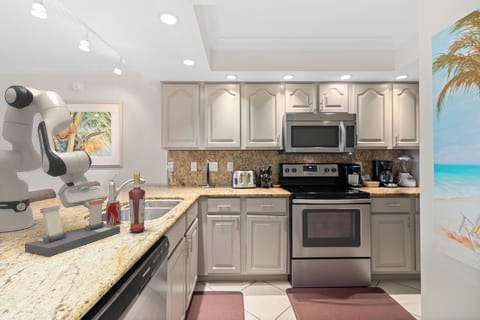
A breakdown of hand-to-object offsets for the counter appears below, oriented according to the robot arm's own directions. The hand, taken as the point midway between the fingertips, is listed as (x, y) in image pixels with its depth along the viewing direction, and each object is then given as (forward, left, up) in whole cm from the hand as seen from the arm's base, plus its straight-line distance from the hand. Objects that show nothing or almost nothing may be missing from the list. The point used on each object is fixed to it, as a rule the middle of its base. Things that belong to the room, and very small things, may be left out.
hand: (94, 209), depth 114 cm
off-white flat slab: (+1, 0, -8) cm, 8 cm away
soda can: (-8, +18, -12) cm, 23 cm away
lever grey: (+1, -17, -8) cm, 19 cm away
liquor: (+14, +12, -12) cm, 22 cm away
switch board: (+1, -8, -12) cm, 14 cm away
